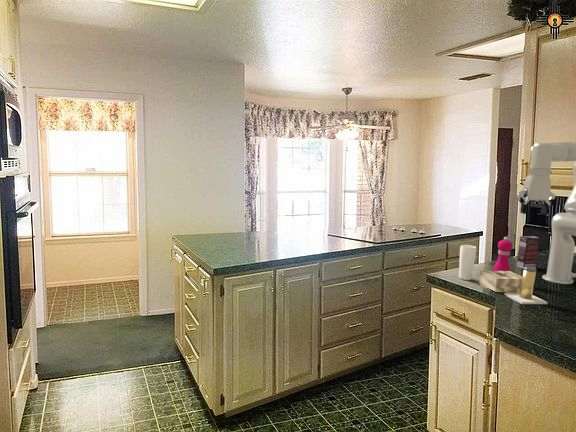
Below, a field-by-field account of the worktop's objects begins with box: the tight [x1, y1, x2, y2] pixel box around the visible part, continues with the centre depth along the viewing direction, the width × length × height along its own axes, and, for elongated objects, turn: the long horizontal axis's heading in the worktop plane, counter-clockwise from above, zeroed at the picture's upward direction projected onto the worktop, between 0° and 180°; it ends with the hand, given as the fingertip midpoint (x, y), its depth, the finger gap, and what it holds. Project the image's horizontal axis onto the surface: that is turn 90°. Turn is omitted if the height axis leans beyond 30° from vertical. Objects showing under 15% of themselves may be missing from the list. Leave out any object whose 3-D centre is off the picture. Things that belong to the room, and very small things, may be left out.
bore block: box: [478, 270, 523, 293], centre depth 200 cm, size 14×12×6 cm
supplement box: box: [516, 235, 540, 269], centre depth 241 cm, size 9×5×16 cm, turn 111°
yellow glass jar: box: [519, 266, 537, 299], centre depth 186 cm, size 4×4×12 cm
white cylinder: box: [458, 244, 477, 281], centre depth 211 cm, size 7×7×15 cm
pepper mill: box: [492, 236, 513, 272], centre depth 213 cm, size 7×7×20 cm
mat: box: [503, 293, 549, 305], centre depth 187 cm, size 11×11×1 cm
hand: (533, 213), depth 198 cm, fingers open, 9 cm apart
